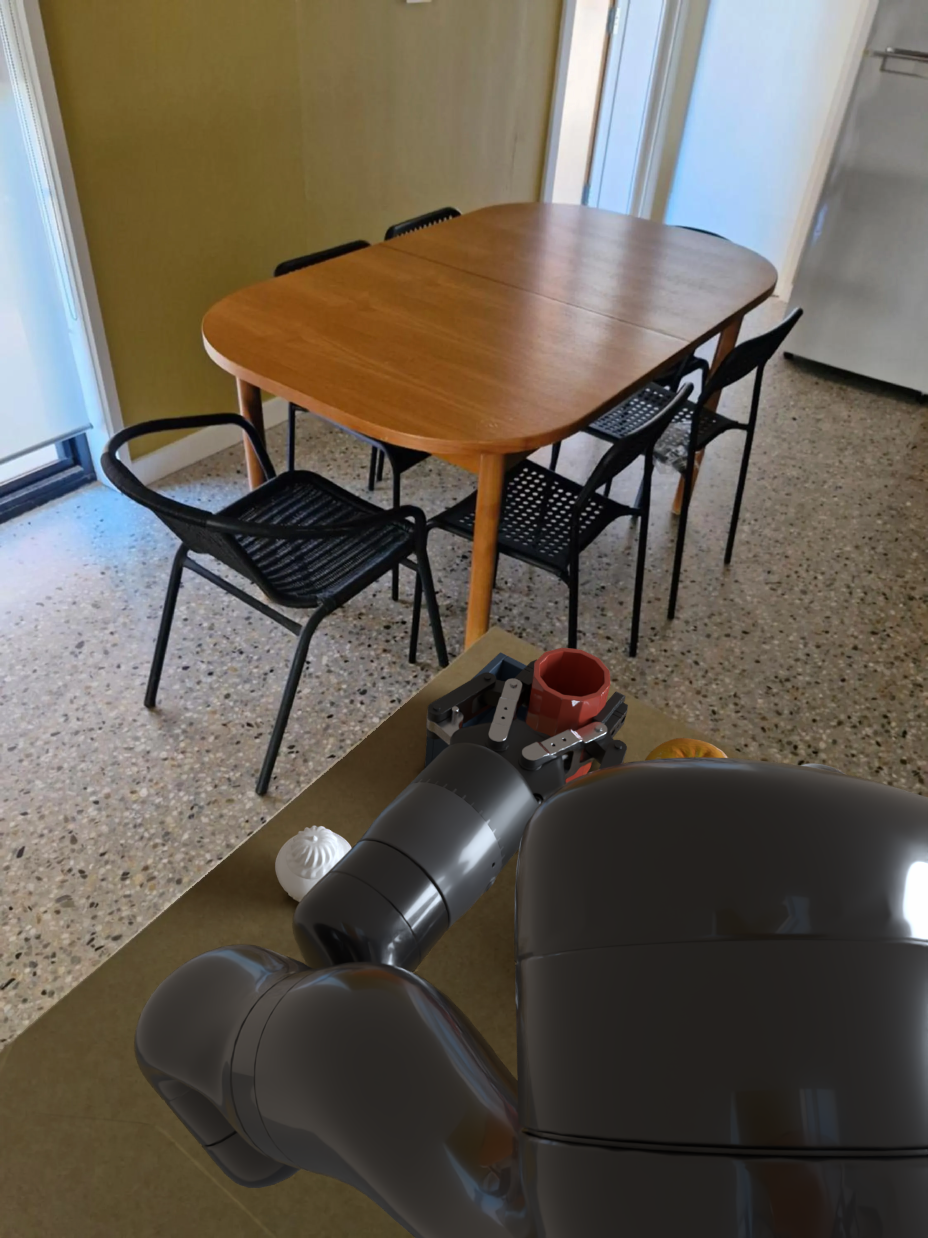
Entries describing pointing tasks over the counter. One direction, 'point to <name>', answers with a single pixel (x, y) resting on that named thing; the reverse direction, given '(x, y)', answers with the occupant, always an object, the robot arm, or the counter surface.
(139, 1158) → the counter surface
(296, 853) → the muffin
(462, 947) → the counter surface
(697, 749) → the fruit
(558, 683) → the plastic cup
